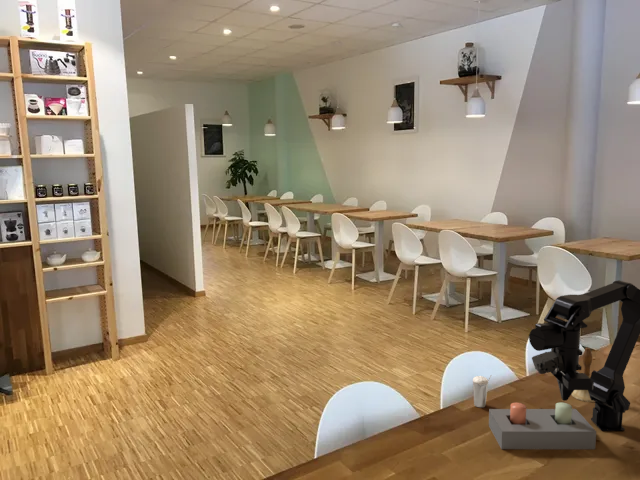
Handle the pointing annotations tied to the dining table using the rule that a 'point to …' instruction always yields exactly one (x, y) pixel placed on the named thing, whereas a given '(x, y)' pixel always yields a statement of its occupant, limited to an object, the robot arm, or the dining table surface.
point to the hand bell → (587, 361)
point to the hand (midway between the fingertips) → (564, 400)
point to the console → (541, 431)
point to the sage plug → (563, 413)
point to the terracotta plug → (518, 414)
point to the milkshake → (480, 390)
